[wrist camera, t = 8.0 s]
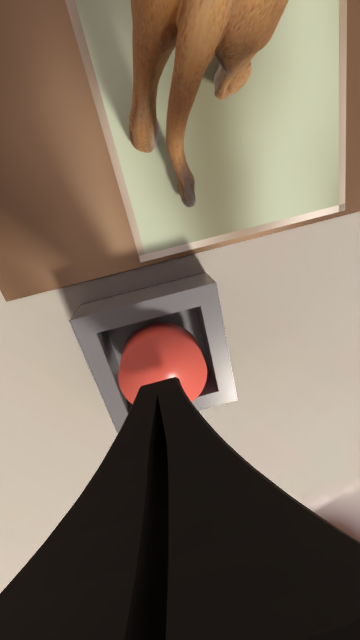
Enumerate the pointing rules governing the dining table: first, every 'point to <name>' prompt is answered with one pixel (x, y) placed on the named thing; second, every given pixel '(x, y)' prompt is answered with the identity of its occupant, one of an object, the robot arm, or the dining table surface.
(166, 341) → the button
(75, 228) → the picture sheet
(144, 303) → the button housing
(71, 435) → the dining table surface
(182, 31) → the lion figurine
